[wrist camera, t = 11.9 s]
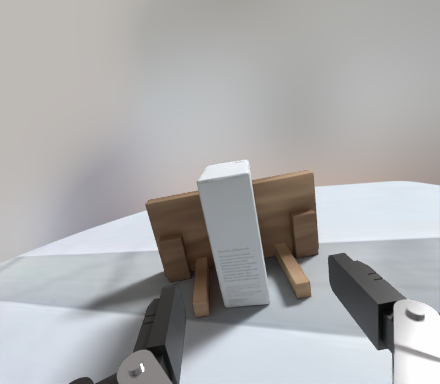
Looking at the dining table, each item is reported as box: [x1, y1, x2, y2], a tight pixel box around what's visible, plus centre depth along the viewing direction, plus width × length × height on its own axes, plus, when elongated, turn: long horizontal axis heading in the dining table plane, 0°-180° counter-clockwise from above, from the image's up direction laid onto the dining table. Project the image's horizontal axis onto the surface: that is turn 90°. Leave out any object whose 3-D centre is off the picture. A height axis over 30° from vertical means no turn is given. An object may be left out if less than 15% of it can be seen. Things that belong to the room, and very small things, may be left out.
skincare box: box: [197, 160, 270, 308], centre depth 22 cm, size 6×4×12 cm
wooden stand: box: [146, 170, 319, 318], centre depth 23 cm, size 8×18×9 cm, turn 93°
